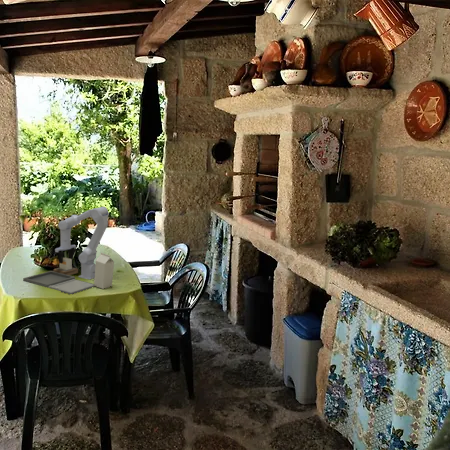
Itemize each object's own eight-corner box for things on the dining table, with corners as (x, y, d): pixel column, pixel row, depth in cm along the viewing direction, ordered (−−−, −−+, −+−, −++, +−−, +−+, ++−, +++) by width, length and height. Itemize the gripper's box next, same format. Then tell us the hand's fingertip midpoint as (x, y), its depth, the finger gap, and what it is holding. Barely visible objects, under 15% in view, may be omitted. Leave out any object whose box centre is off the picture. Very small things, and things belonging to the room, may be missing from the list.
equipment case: (97, 285, 286) (97, 282, 285) (70, 294, 269) (70, 291, 268) (51, 274, 304) (51, 270, 304) (23, 281, 287) (23, 278, 286)
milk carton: (102, 289, 280) (105, 256, 276) (93, 285, 284) (96, 253, 279) (112, 286, 286) (114, 254, 282) (103, 282, 290) (105, 251, 285)
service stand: (77, 273, 308) (77, 268, 307) (65, 277, 299) (65, 271, 299) (66, 270, 313) (66, 265, 312) (53, 274, 304) (53, 268, 304)
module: (71, 268, 306) (71, 259, 305) (66, 270, 302) (66, 260, 301) (64, 266, 309) (64, 257, 308) (59, 268, 305) (59, 258, 304)
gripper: (69, 237, 311) (70, 258, 313) (51, 240, 298) (51, 263, 300) (78, 238, 307) (78, 260, 310) (59, 242, 295) (60, 264, 297)
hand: (65, 261), depth 305 cm, fingers open, 7 cm apart
